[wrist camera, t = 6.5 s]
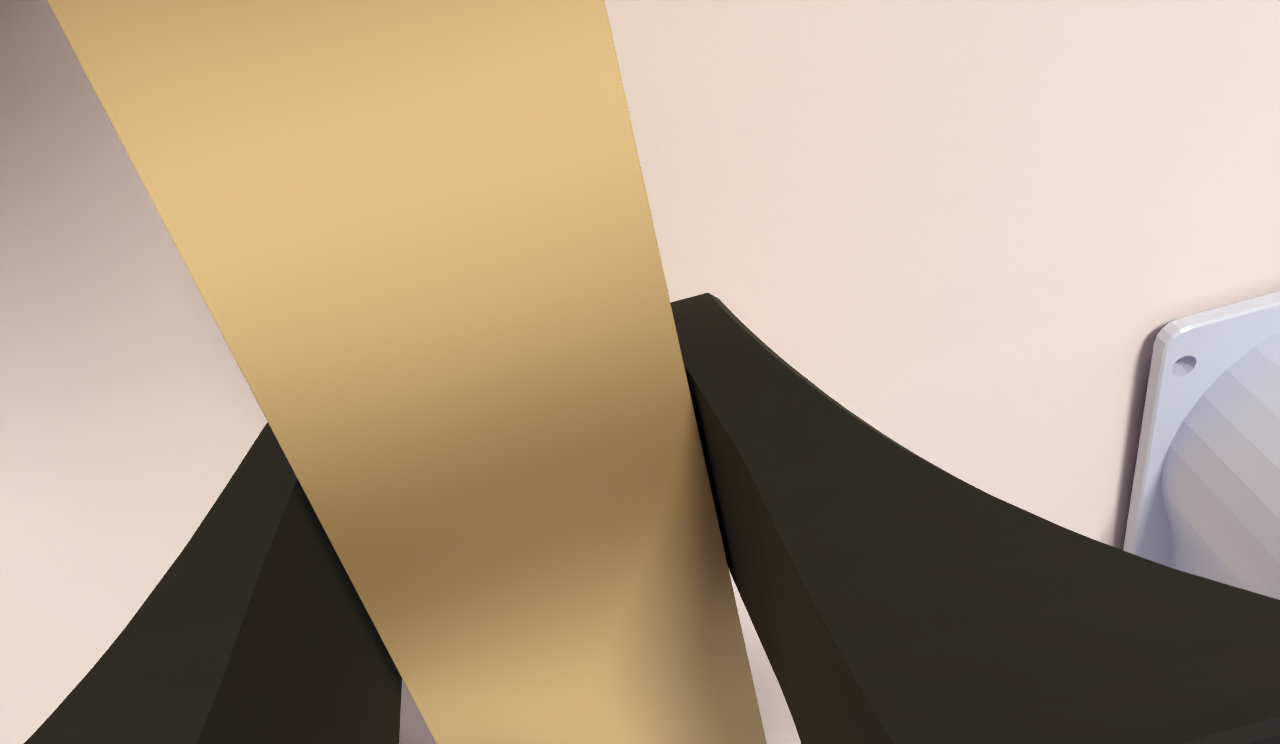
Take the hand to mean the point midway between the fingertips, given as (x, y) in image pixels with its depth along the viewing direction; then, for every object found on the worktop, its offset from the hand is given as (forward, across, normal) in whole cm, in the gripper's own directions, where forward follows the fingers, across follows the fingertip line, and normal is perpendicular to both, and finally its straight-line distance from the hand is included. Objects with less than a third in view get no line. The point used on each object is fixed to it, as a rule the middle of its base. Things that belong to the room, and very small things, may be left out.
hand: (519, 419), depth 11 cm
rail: (+4, 0, 0) cm, 4 cm away
